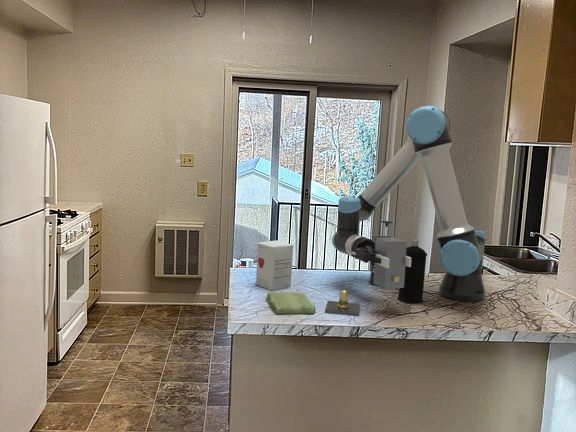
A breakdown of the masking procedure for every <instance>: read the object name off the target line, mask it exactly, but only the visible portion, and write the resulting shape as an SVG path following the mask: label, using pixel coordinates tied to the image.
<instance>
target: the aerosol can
mask: <svg viewBox="0 0 576 432" xmlns="http://www.w3.org/2000/svg"><path fill="white" fill-rule="evenodd" d="M406 256H408V257H411V267H407V266H405V279H404V288H398V297H397V300H398V301H399V302H401V303H405V304H412V305H413V304H414V305H417V304H418V305H419V304H422V303H423V302H424V299H423V297H424V286H425V275H426V264H427V263H426V262H427V256H428V253H427V252H426V251H425V249H423V247H422V248H421V247H420V246H419V240H418V239H412V241H411V245H410V246H407V247H406Z"/></svg>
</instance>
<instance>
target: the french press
mask: <svg viewBox="0 0 576 432" xmlns="http://www.w3.org/2000/svg"><path fill="white" fill-rule="evenodd" d="M381 223H383V224H385V235H375V236H373V238H372V239H373V242H374V243H375V242H376V238H392V237H393V236H388V235H387V233H388V227H389V224H394V222H393V221H389V220H382V221H381ZM369 276H370V277H369V282H368V283H369V284H370V285H372V286H375V287H378V286H377V285H375V284H373V279H374V265H371V264H370V274H369Z"/></svg>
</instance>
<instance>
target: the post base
mask: <svg viewBox="0 0 576 432" xmlns="http://www.w3.org/2000/svg"><path fill="white" fill-rule="evenodd" d="M326 302H327V303H326V305H325V309H324V313H325V314H335V315H343V316H345V315H346V316H353V317H354V316H355V317H359V316H360V309H361V303H355V302H349V290H347V289H340V290H339V299H338V300H337V301H336V300H335V301H334V300H327V301H326Z"/></svg>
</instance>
